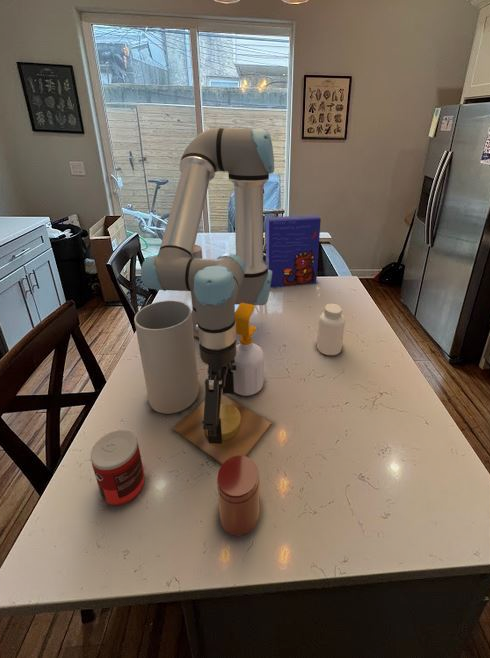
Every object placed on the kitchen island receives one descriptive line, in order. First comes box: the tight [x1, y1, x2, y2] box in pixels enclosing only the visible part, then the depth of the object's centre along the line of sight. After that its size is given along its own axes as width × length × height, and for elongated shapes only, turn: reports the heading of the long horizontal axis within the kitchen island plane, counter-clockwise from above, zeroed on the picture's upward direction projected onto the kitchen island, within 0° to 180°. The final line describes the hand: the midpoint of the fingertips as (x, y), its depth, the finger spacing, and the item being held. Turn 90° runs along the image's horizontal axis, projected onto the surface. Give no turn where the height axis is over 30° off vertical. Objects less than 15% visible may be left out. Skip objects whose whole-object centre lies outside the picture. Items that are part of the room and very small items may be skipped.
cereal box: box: [265, 214, 322, 289], centre depth 141 cm, size 22×6×30 cm, turn 104°
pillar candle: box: [192, 244, 203, 259], centre depth 148 cm, size 10×10×15 cm
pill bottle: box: [316, 303, 346, 356], centre depth 102 cm, size 8×8×15 cm
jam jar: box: [216, 456, 260, 537], centre depth 59 cm, size 7×7×11 cm
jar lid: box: [205, 404, 241, 441], centre depth 77 cm, size 9×9×2 cm
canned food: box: [90, 429, 146, 506], centre depth 63 cm, size 8×8×11 cm
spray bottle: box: [232, 303, 265, 397], centre depth 86 cm, size 9×9×25 cm
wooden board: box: [173, 393, 272, 466], centre depth 77 cm, size 18×14×1 cm
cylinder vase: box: [133, 299, 200, 415], centre depth 81 cm, size 12×12×25 cm
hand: (222, 415), depth 76 cm, fingers open, 13 cm apart
